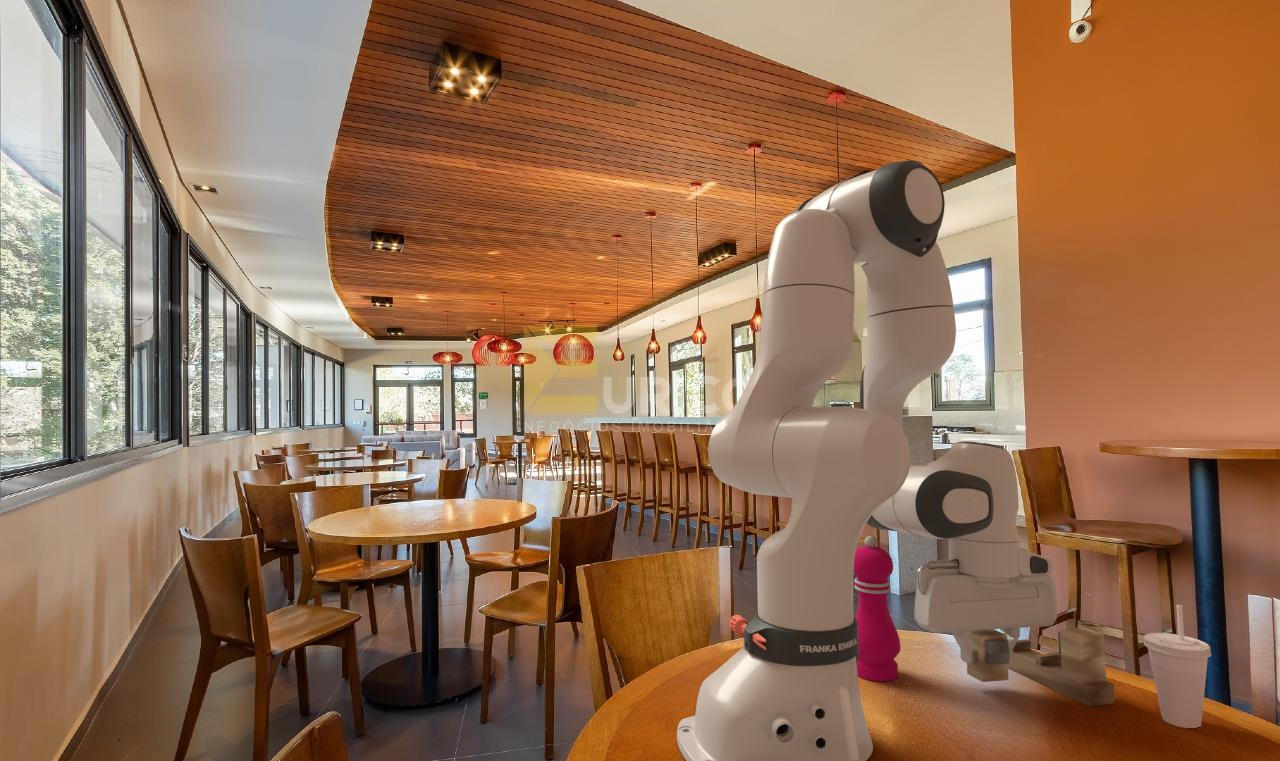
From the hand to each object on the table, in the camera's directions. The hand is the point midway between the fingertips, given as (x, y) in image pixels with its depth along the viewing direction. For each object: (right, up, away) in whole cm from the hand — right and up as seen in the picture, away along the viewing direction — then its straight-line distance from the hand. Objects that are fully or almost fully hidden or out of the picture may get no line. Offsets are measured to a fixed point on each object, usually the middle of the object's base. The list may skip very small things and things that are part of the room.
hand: (986, 660), depth 88 cm
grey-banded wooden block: (0, -2, 0) cm, 2 cm away
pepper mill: (-13, -5, +6) cm, 15 cm away
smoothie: (+19, -3, -10) cm, 21 cm away
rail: (+11, -4, +2) cm, 11 cm away
